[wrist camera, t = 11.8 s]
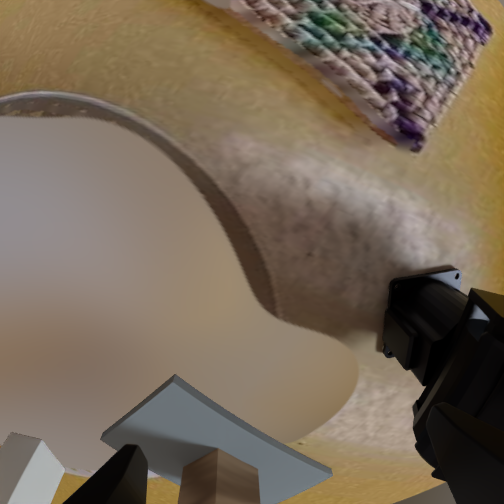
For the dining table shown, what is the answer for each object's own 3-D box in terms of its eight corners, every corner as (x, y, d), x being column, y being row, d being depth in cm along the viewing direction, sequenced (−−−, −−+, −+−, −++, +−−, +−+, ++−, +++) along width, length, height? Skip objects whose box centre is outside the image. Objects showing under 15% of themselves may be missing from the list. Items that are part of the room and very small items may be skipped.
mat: (175, 373, 22) (172, 382, 21) (331, 468, 26) (333, 475, 25) (103, 432, 24) (100, 439, 23) (249, 508, 28) (250, 514, 27)
